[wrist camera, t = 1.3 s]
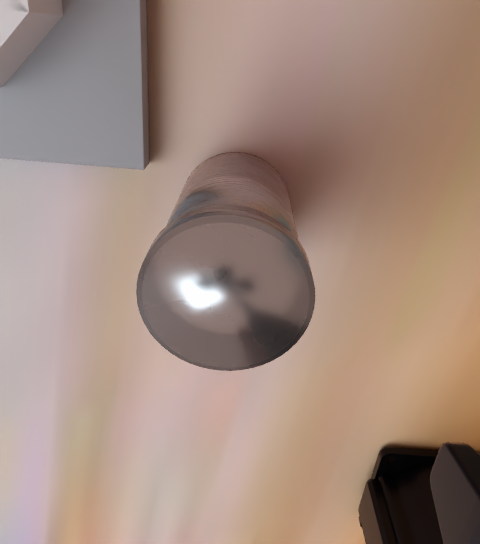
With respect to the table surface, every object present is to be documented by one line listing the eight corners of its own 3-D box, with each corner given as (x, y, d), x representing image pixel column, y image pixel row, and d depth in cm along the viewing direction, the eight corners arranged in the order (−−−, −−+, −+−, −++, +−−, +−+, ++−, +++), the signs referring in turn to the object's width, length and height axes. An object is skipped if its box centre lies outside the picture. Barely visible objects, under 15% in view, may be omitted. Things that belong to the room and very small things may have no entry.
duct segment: (300, 153, 18) (329, 225, 11) (285, 262, 20) (301, 377, 13) (178, 143, 17) (132, 209, 11) (177, 253, 20) (138, 365, 13)
